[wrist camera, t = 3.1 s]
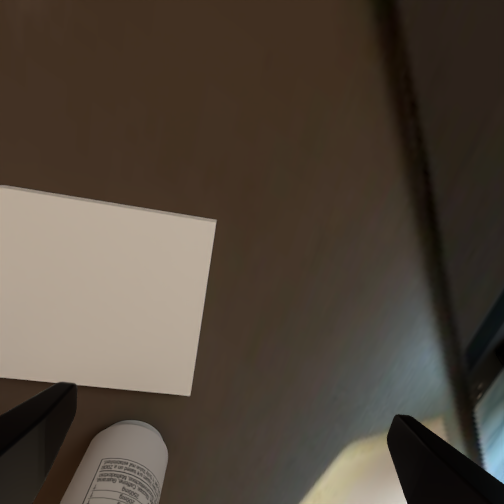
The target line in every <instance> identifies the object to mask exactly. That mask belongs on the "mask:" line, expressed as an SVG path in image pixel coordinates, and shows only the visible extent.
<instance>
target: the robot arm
mask: <svg viewBox="0 0 504 504" xmlns="http://www.w3.org/2000/svg"><path fill="white" fill-rule="evenodd" d="M496 356H497V357H498V359H499V360H500V362H501V363H502V364H503V366H504V345H503V346H501V347H500V348H498V349H497V351H496ZM76 408H77V385H76V384H75V383H72V382H58V383H56V384H54V385H53V386H51V387H49V388H47V389H46V390H44V391H42V392H40V393H39V394H37V395H35V396H33V397H32V398H30V399H28V400H26V401H25V402H23V403H21V404H20V405H18V406H16V407H14V408H13V409H11V410H9V411H7V412H6V413H4V414H2V415H0V504H32V503H33V501H34V499H35V498H36V496H37V494H38V492H39V491H40V489H41V487H42V485H43V483H44V481H45V479H46V477H47V475H48V473H49V471H50V469H51V467H52V465H53V462H54V460H55V458H56V456H57V454H58V452H59V450H60V447H61V445H62V443H63V441H64V439H65V437H66V434H67V432H68V430H69V428H70V426H71V424H72V421H73V419H74V417H75V413H76ZM387 444H388V448H389V451H390V454H391V457H392V460H393V463H394V466H395V469H396V472H397V475H398V478H399V481H400V484H401V487H402V490H403V493H404V495H405V498H406V501H407V504H504V484H503V483H502V482H500V481H499V480H497V479H496V478H495V477H493V476H492V475H491V474H489V473H488V472H487V471H485V470H484V469H482V468H481V467H480V466H478V465H477V464H476V463H474V462H473V461H471V460H470V459H469V458H467V457H466V456H465V455H463V454H462V453H461V452H459V451H458V450H456V449H455V448H454V447H452V446H451V445H450V444H448V443H447V442H446V441H444V440H443V439H441V438H440V437H439V436H437V435H436V434H435V433H433V432H432V431H431V430H429V429H428V428H426V427H425V426H424V425H422V424H421V423H420V422H418V421H417V420H416V419H414V418H413V417H411V416H409V415H400V414H398V415H396V416H395V417H394V418H393V421H392V424H391V427H390V430H389V432H388V435H387Z"/></svg>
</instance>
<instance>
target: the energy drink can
mask: <svg viewBox="0 0 504 504" xmlns="http://www.w3.org/2000/svg"><path fill="white" fill-rule="evenodd" d="M167 461H168V451H167V447H166V445H165V443H164V442H163V439H162V437H161V435H160V433H159V432H158V431H157V430H156V429H155V428H154V427H153V426H151V425H149V424H147V423H145V422H142V421H137V420H125V421H120V422H117V423H115V424H113V425H111V426H110V427H109V428H107V429H105V430H103V431H101V432H100V433H98V434H97V435H96V436H95V437H94V438H93V440H92V441H91V443H90V445H89V447H88V449H87V451H86V453H85V455H84V457H83V459H82V461H81V463H80V465H79V466H78V468H77V470H76V472H75V474H74V476H73V478H72V480H71V482H70V484H69V486H68V488H67V490H66V492H65V494H64V496H63V498H62V500H61V502H60V504H159V499H160V494H161V490H162V485H163V480H164V476H165V471H166V466H167Z"/></svg>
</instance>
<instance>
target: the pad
mask: <svg viewBox="0 0 504 504" xmlns="http://www.w3.org/2000/svg"><path fill="white" fill-rule="evenodd" d="M216 221H217V220H214V219H208V218H202V217H196V216H189V215H183V214H177V213H171V212H165V211H159V210H153V209H147V208H141V207H135V206H128V205H122V204H116V203H110V202H104V201H98V200H92V199H86V198H80V197H73V196H67V195H61V194H55V193H49V192H43V191H37V190H31V189H25V188H19V187H12V186H6V185H0V377H2V378H12V379H23V380H33V381H43V382H53V383H58V382H72V383H75V384H76V385H84V386H94V387H104V388H114V389H124V390H134V391H145V392H155V393H165V394H175V395H185V396H190V394H191V388H192V381H193V375H194V368H195V361H196V355H197V348H198V341H199V335H200V328H201V321H202V315H203V308H204V301H205V295H206V288H207V281H208V275H209V268H210V261H211V254H212V248H213V241H214V234H215V228H216Z"/></svg>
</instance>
